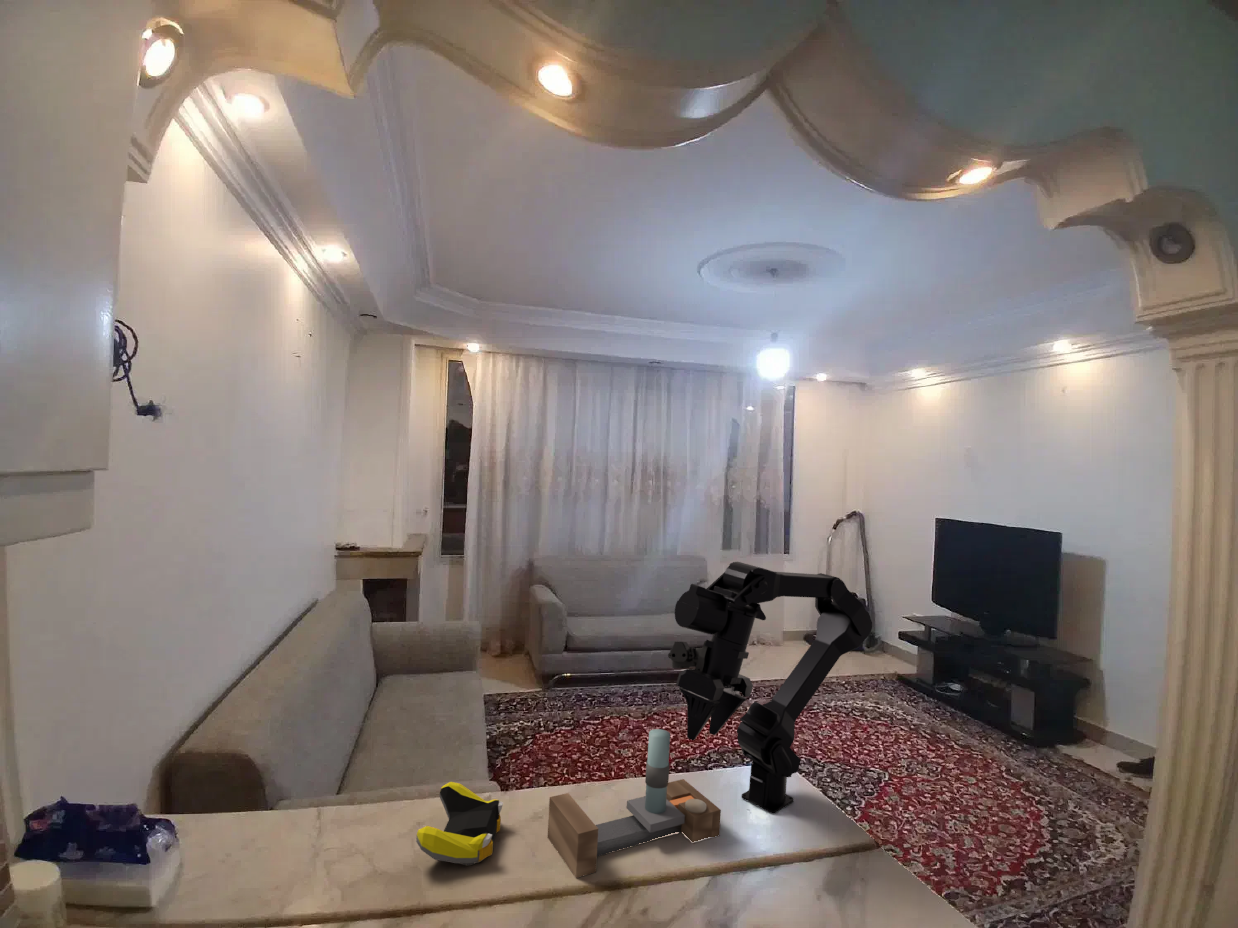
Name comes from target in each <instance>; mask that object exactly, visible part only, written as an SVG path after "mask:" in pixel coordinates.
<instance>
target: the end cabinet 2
mask: <svg viewBox="0 0 1238 928" xmlns="http://www.w3.org/2000/svg"><path fill="white" fill-rule="evenodd" d="M687 796H692V797H693V798H694V799H689V800H687V801H686V802H683V803H679V808H678V810H679V811H680V812H682V813H683V814H684V815H685V820H684V824H681V832H683V833H684V834H685V835H686V836H687V837H688V838H689V839H690V840H691V841H692V842H694V841H698V840H701V839H704V838H708V837H714V838H716V837H715V836H717V837H719V836H720V830H721V829H720V828H721V812H722V810H721V808H720V807H718V806H717V805H715V804H714V803H713V802H712V801H711V800H710V799H709V798H707V797H706V796H705V795H703V793H701V792H700V791H699V790H697V788H695V787H694V786H692V785H691V784H690V782H688V781H687V780H685V779H683V778H682V779H678V780H674V781H668V786H667V800H668V801H671V800H675V799H679V798H683V797H687ZM718 835H719V836H718Z"/></svg>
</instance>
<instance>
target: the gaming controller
mask: <svg viewBox="0 0 1238 928" xmlns="http://www.w3.org/2000/svg"><path fill="white" fill-rule="evenodd" d="M439 798H440V802H441V803H442V806H443V809H444V810H445V813H446V815H447V818H448V821H447V824H446V825H445V827H444V829H443V830H442V829H439V828H437V827H432V826H429V825H426V826H423V827H420V828H419V829H417V832H416V837H415V839H416V840H415V842H416V844H417V845H418V847H419V849H420V850H421V852H423V853H425V854H426V855H428V857H430V858H431V859H434V860H435V861H441V862H450V863H452V864H453V863H454V864H460V865H463V866H466V865H467V866H471V865H475V864H476V863H480V862H482V861H483V860H485V859H486V858H487V857H490V856H492V854H493V850H494V849H493V848H494V841H495V840H496V836H497V833H499V832H500V831H501V824H502V823H501V819H502V818H501V811H502V808H503V806H504V802H503V801H500V800H499V799H491V800H485V799H483V798H482V797H480V796H479V795H478V794H477V793H475V792H473V791H472V790H470V789H469V788H467V787H466V786H465V785H463V784H461V783H458V782H454V781H449V782H447V783H446V784H444V785H442V786H441V788H440V790H439Z"/></svg>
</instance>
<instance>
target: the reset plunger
mask: <svg viewBox="0 0 1238 928" xmlns="http://www.w3.org/2000/svg"><path fill="white" fill-rule="evenodd" d="M689 799H694V798H693V797H692V796H687V797H683V798H679V799H675V800H671V801H669V802H671V803H672V804H673V805H674V806H675V807H676V808H677V809H678V808H679V803H683V802H686V801H687V800H689Z"/></svg>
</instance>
